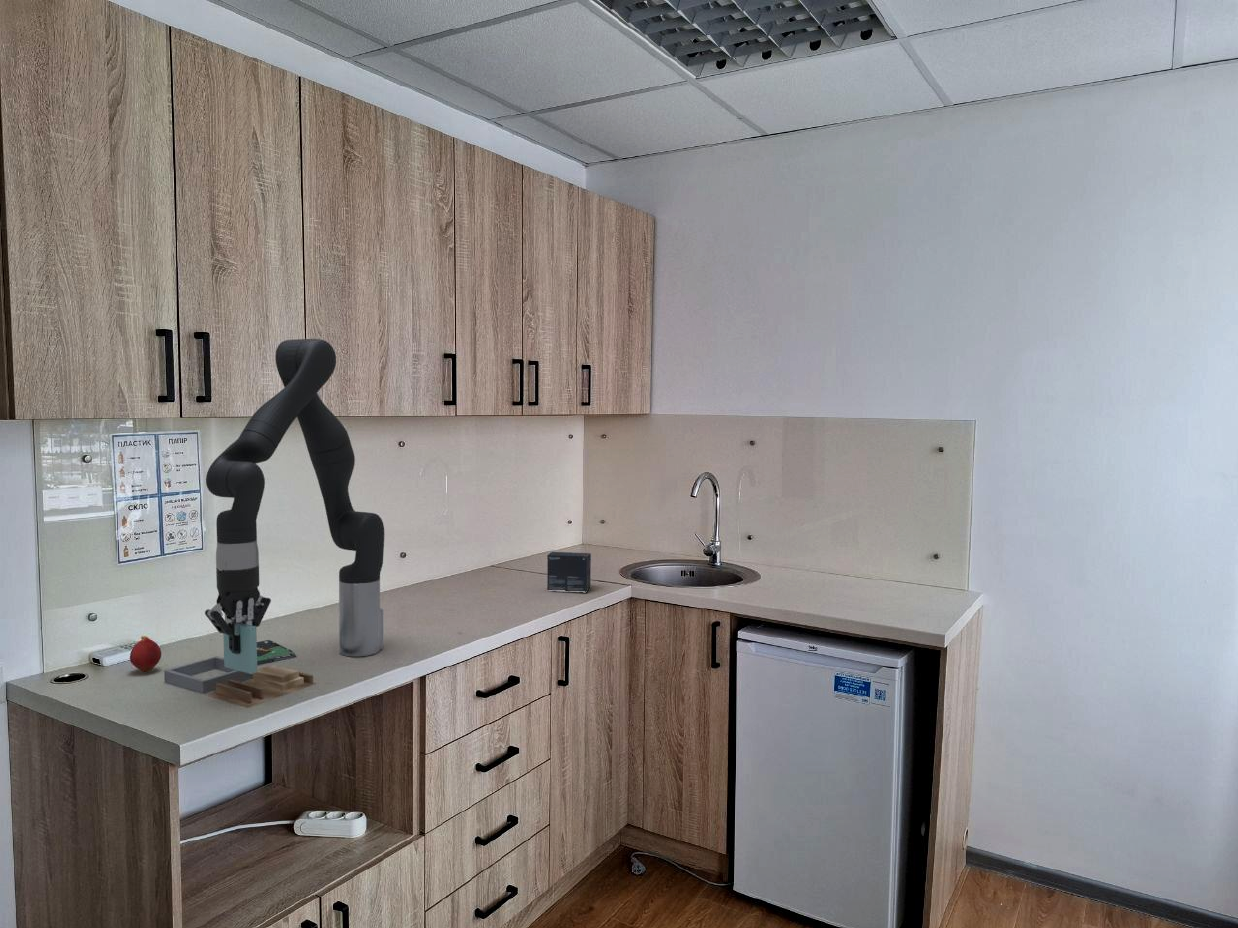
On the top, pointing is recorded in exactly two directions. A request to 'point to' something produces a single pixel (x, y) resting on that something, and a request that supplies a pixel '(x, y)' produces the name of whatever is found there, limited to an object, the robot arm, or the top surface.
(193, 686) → the tray
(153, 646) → the onion
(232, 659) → the teal rectangular slab
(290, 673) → the offcut upper
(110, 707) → the top surface
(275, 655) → the disk drive
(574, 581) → the small box
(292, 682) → the offcut lower
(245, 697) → the rack
